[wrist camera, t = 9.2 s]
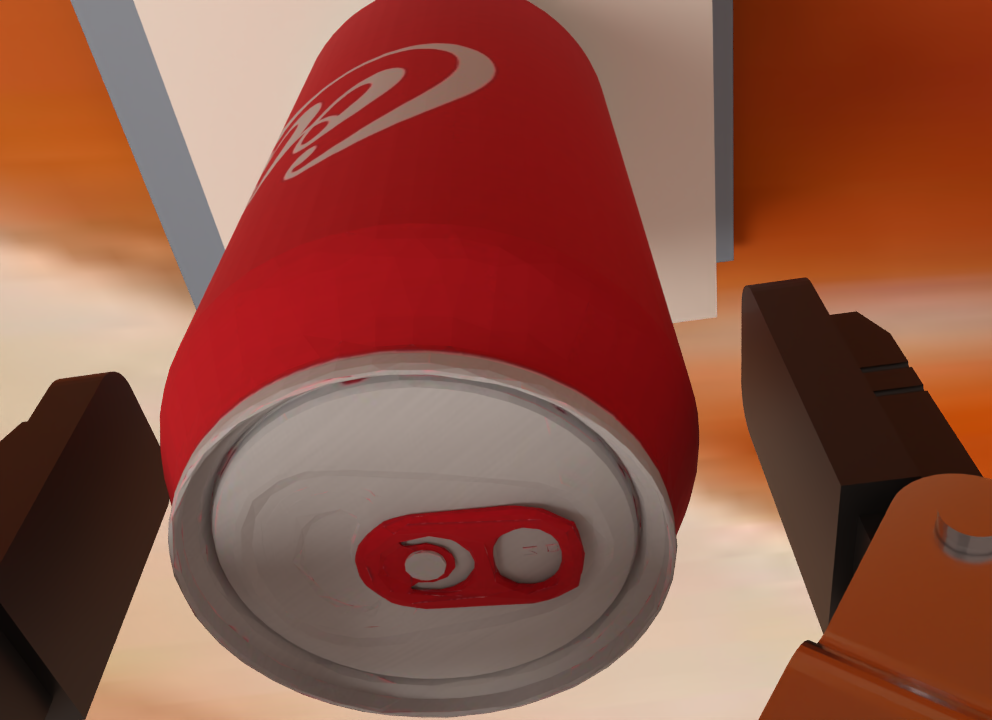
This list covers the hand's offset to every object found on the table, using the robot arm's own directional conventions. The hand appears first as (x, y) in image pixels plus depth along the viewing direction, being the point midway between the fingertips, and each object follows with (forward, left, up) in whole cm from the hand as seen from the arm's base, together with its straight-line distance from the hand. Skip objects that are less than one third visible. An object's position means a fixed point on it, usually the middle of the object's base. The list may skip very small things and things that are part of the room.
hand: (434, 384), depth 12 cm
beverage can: (0, 0, -9) cm, 9 cm away
